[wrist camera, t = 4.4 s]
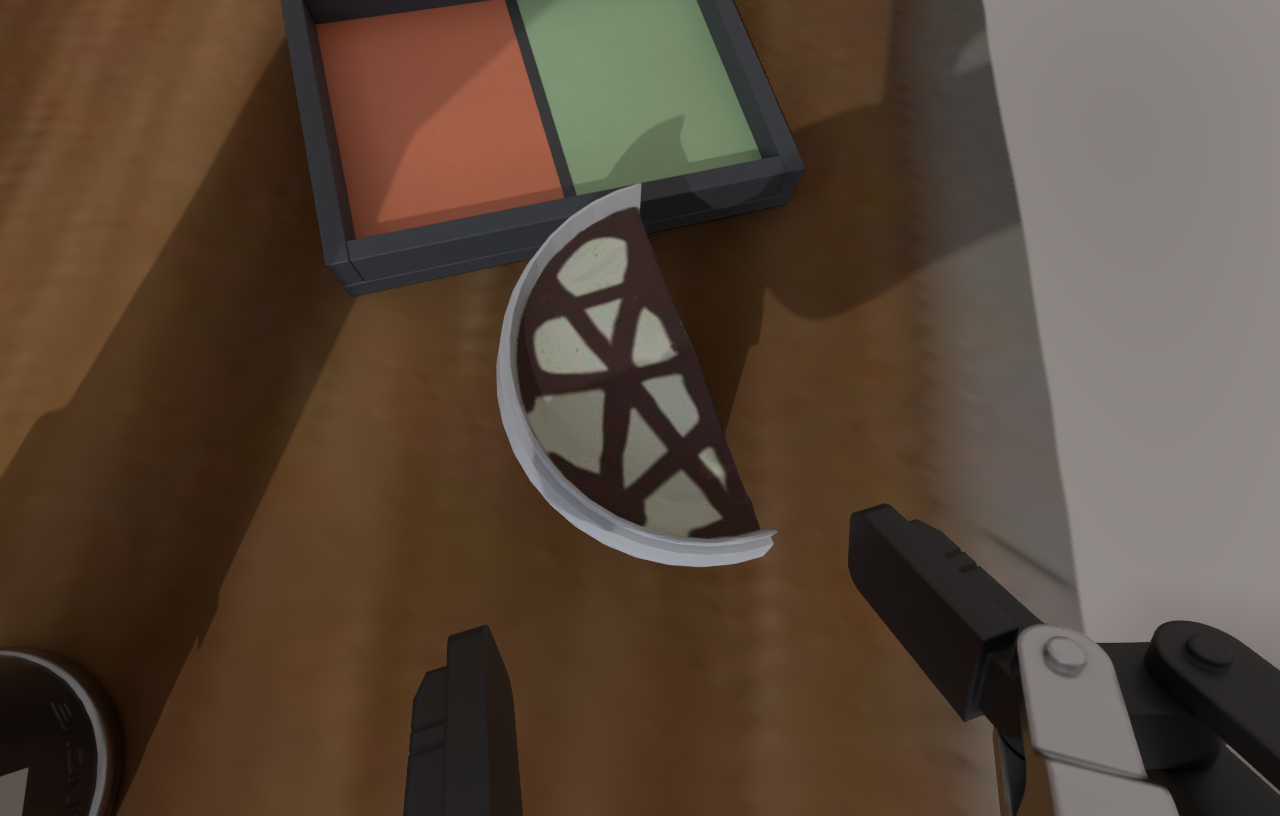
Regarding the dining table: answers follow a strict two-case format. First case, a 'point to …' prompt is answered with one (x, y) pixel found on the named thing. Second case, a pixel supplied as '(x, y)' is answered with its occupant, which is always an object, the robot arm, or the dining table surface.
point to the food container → (619, 398)
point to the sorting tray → (523, 124)
